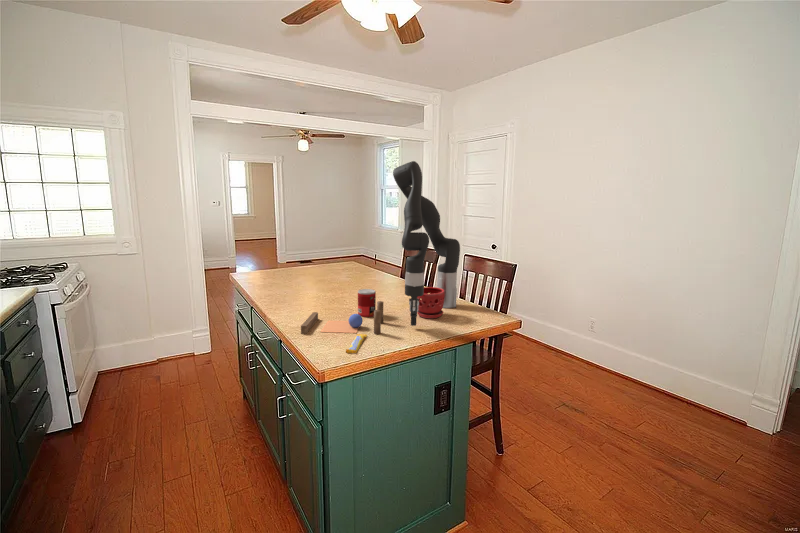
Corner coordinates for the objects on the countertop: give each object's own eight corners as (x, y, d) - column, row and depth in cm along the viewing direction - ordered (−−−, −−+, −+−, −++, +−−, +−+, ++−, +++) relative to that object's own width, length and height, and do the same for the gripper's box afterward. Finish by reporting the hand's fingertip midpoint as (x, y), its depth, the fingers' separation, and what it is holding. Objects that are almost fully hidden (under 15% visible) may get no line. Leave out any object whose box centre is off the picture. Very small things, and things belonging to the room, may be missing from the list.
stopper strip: (318, 319, 162) (317, 312, 161) (306, 333, 144) (306, 326, 144) (313, 318, 162) (313, 312, 161) (301, 333, 144) (300, 326, 144)
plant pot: (427, 309, 178) (428, 285, 176) (449, 316, 169) (450, 290, 167) (408, 315, 169) (409, 289, 167) (430, 322, 160) (431, 294, 158)
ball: (353, 309, 154) (346, 321, 154) (352, 313, 148) (345, 325, 149) (365, 315, 154) (359, 327, 155) (364, 319, 149) (358, 331, 149)
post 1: (383, 321, 160) (383, 301, 158) (382, 323, 157) (383, 302, 155) (377, 321, 160) (377, 301, 158) (376, 323, 157) (376, 302, 156)
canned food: (373, 318, 165) (373, 293, 163) (355, 316, 166) (355, 292, 164) (377, 313, 172) (377, 289, 170) (360, 311, 174) (360, 288, 172)
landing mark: (361, 321, 159) (361, 321, 159) (356, 333, 146) (356, 332, 145) (328, 320, 160) (328, 320, 160) (320, 332, 146) (320, 331, 146)
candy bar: (356, 355, 126) (356, 350, 126) (344, 355, 126) (344, 349, 126) (367, 338, 142) (367, 333, 142) (356, 337, 143) (356, 332, 143)
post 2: (380, 332, 147) (381, 309, 146) (380, 334, 145) (380, 311, 143) (374, 331, 147) (374, 309, 146) (373, 334, 145) (373, 311, 143)
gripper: (405, 279, 155) (404, 319, 158) (404, 286, 142) (403, 330, 145) (423, 279, 155) (422, 320, 158) (424, 287, 142) (423, 331, 145)
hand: (413, 325), depth 151 cm, fingers closed
